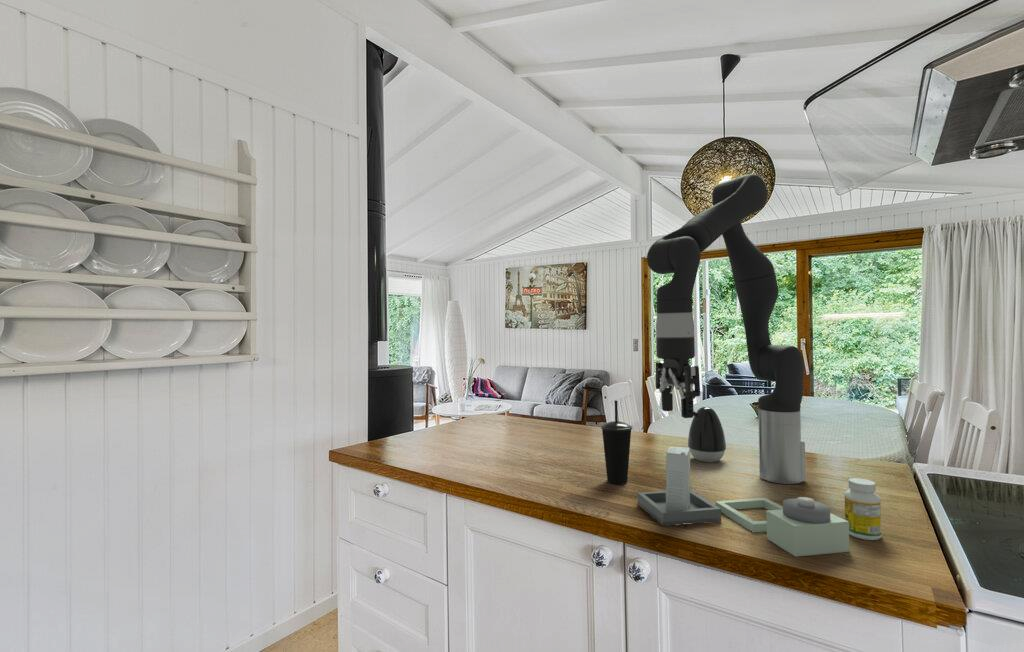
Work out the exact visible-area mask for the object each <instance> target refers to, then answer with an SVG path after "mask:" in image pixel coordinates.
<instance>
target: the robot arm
mask: <svg viewBox="0 0 1024 652" xmlns="http://www.w3.org/2000/svg"><path fill="white" fill-rule="evenodd" d="M711 196H712V197H711V201H712V202H711V203H712V206H710V207H707V208H706V209H703V210H702V211H700V212H699V213H698V214H696V215H695V216H693V217H692V218H690V219H689V220H688V221H687V222H686V223H685V224H684V225H682V226H681V227H679V228H678V229H676V230H673V231H672V232H669V233H668V234H666V235H664V236H661V238H659V239H657V240H656V241H655V242H653V244H652V245H650V247H649V249H648V252H647V254H646V262H647V266H648V268H649V270H651V271H652V272H654V273H656V274H658V275H668V274H673V276H672V278H671V280H670V282H668V283H666V284H664V285H661V286H659V287H658V288H657V290H656V320H655V341H656V345H655V346H656V347H655V349H656V358H658V359H660V360H663V361H656V362H655V389H657V390H659V393H661V394H660V395H661V410H662V411H663V412H672V411H673V410H674V400H673V399H674V398H673V391H674V388H675V390H678V392H679V396H680V397H681V399H680V406H681V407H680V408H681V409H680V410H681V412H680V413H681V417H682V418H684V419H693V418H694V411H695V410H694V399H695V398H696V397H700V396H701V384H700V369H699V368H700V367H699V365H696V364H695V365H690V362H689V361H690V359H694V358H695V356H696V347H695V345H696V344H695V343H696V341H695V337H696V336H695V335H696V334H695V321H694V316H693V314H694V313H693V291H694V286H695V283H696V279H697V274H698V270H699V268H700V267H699V266H700V263H701V253H702V252H704V251H706V250H707V249H708V248H709V247H710V246H711V245H712V244H713V243H714V242H715V241H717V240H718V238H719V237H721V236H722V237H723V241H724V243H725V244H724V245H725V249H726V251H727V252H726V253H727V255H728V260H729V263H730V269H731V273H732V278H733V283H734V287H735V292H736V296H737V299H738V302H739V307H740V311H741V317H742V322H743V328H744V333H745V334H744V335H745V341H746V349H747V357H748V364H749V367H750V370H751V372H752V375H753V376H754V377H755V378H756V379H758V380H760V381H764V382H772V383H773V382H775V385H774V386H775V387H774V390H773V391H772V392H771V393H768V394H765V395H762V396H759V397H758V400H757V408H758V409H757V410H758V411H757V412H758V413H757V415H758V416H757V417H758V459H759V461H758V462H759V465H758V466H759V467H758V469H759V471H758V472H759V478H760V479H762V478H763V479H762V480H764V479H765V480H764V481H766V480H767V481H768V482H770V483H773V484H774V483H776V484H784V485H797V484H800V483H802V482H806V477H807V475H806V442H805V441H804V440H802V431H801V430H802V428H801V427H802V425H801V423H802V422H801V420H802V419H801V417H802V416H801V404H802V401H803V397H804V378H805V377H804V374H805V364H804V363H805V361H804V357H803V354H802V352H801V350H800V349H799V348H798V347H796V346H795V345H790V344H772V341H771V337H770V331H769V322H770V320H771V316H772V314H773V311H774V308H775V306H776V303H777V301H778V296H779V292H780V291H779V285H778V279H777V276H776V271H775V268H774V265H773V263H772V261H771V260H770V259H769V257H768V256H767V255H766V254H764V252H762V250H760V249H759V247H757V246H756V245H755V243H753V242H752V240H750V239H749V237H748V235H747V234H746V232H745V230H744V227H743V225H742V221H743V220H745V219H746V218H747V217H749V216H751V215H753V214H755V213H757V212H760V211H761V210H762V209H763V208H765V205H766V204H767V200H768V196H769V195H768V188H767V184H766V182H765V180H764V179H763V178H762V177H761V176H760V175H759V174H755V173H750V174H749V173H748V174H744V175H742V176H738V177H735V178H732V179H729V180H726V181H724V182H720V183H718V184H717V185H715V186H714V187H713V190H712V193H711Z"/></svg>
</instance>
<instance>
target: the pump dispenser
mask: <svg viewBox="0 0 1024 652" xmlns="http://www.w3.org/2000/svg"><path fill="white" fill-rule="evenodd" d="M693 411H694V416H693V417H692V420H691V424H690V425H689V426H690V427H689V430H688V436H687V437H688V438H687V448H690V455H691V456H692V457H693V458H694V459H695V460H697V461H700V462H702V461H704V462H703V463H716V462H718V461H721V459H722V458H723V457H724V455H725V451H726V450H727V441H726V436H725V432H724V431H725V430H724V427H723V425H722V422H721V419H720V418H719V416H718V414H717V413H716V411H715V410H714V409H713V408H711V407H710V406H703V407H699V408H698V410H697V411H695V410H693Z"/></svg>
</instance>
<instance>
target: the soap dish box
mask: <svg viewBox="0 0 1024 652" xmlns="http://www.w3.org/2000/svg"><path fill="white" fill-rule="evenodd" d="M714 505H716V506H717V507H719V508H720V509H721V514H723V515H725V516H726V517H728V518H730V519H731V520H732V521H734V522H736V523H737V524H739V525H740V524H741V525H740V526H742V527H743V528H745V529H747V530H748V529H749V530H748V531H750V532H751V531H752V532H751V533H754V532H755V533H765V532H766V539H767V540H768V541H770V542H771V543H773V544H774V545H776V546H778V547H779V548H781V549H782V550H784V551H786V552H787V553H789V554H790V555H792V556H794V557H796V558H797V557H804V556H805V557H806V556H816V555H817V556H818V555H827V554H839V553H848V552H850V534H849V522H848V521H846V520H845V518H841V517H839V516H838V515H835V514H833V513H832V512H831V507H829V506H828V505H827V504H824V503H823V502H819V501H817V500H816V501H815V499H813V498H811V497H806V496H799V497H797V498H786V499H783V501H782V505H780V504H778V503H776V502H775V501H772V500H770V499H768V498H767V497H756V498H743V499H729V500H728V499H727V500H716V501H715V504H714ZM746 508H747V509H756V508H757V509H758V508H764V509H766V510H765V511H766V513H765V515H766V520H756V521H755V520H754V519H751V518H750V517H748V516H746V515H744V514H743V513H741V512H740V511H738V510H742V509H743V510H745V509H746ZM747 509H746V510H747Z"/></svg>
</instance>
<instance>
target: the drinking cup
mask: <svg viewBox="0 0 1024 652" xmlns="http://www.w3.org/2000/svg"><path fill="white" fill-rule="evenodd" d="M618 405H619V404H618V400H614V420H613V421H608V422H606V423H605V424H601V425H600V430H601V431H602V442H603V450H604V451H603V453H604V461H605V470H606V479H607V482H608V483H609V484H612V485H625V484H627V483H628V478H629V477H628V475H629V463H630V462H629V461H630V451H631V449H630V448H631V438H632V436H631V435H632V430H633V426H632V425H630V424H628V423H626V422H623V421H619V420H618V418H619V415H618V413H619V411H618V409H619V408H618Z"/></svg>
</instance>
